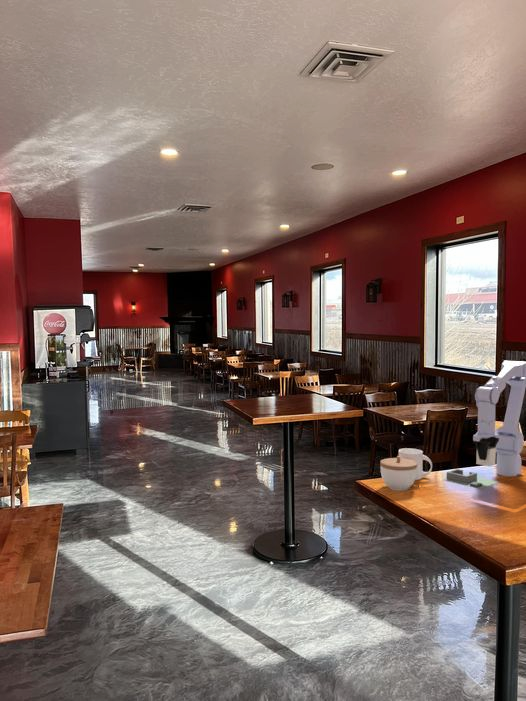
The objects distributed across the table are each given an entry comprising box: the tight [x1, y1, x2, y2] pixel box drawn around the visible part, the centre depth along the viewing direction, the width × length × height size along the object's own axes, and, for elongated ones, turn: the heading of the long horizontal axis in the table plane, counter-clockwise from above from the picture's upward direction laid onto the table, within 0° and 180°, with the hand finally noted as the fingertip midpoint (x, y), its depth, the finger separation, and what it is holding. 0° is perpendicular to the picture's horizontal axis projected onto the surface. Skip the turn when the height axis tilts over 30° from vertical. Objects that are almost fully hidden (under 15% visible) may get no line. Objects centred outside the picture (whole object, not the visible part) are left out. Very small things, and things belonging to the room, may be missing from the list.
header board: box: [442, 468, 500, 490], centre depth 201 cm, size 13×15×4 cm
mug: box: [398, 447, 433, 481], centre depth 205 cm, size 9×12×11 cm
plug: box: [475, 447, 497, 467], centre depth 200 cm, size 8×5×6 cm, turn 130°
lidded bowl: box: [379, 455, 417, 492], centre depth 195 cm, size 13×13×11 cm
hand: (485, 458), depth 198 cm, fingers closed on plug, 4 cm apart
